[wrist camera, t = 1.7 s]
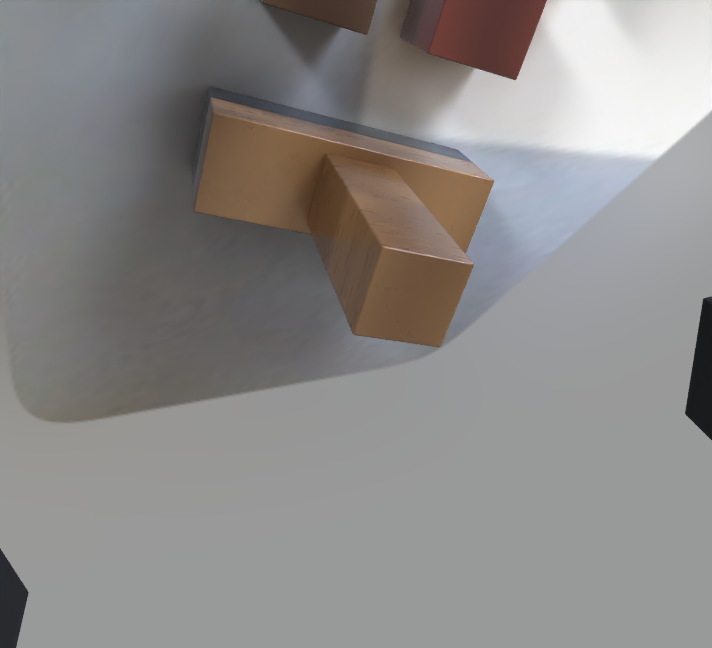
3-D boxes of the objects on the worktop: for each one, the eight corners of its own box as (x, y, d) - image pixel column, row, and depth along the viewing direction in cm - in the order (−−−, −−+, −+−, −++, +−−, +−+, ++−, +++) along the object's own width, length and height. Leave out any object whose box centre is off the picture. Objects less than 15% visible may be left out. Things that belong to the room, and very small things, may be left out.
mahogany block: (399, 37, 29) (427, 53, 26) (430, -64, 28) (464, -61, 24) (480, 62, 31) (516, 80, 27) (514, -34, 29) (557, -27, 26)
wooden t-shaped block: (191, 175, 30) (199, 328, 19) (208, 85, 29) (227, 197, 17) (430, 225, 34) (553, 377, 23) (458, 149, 33) (605, 274, 21)
